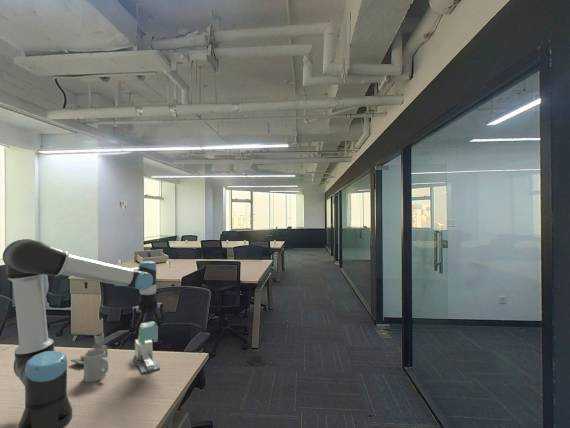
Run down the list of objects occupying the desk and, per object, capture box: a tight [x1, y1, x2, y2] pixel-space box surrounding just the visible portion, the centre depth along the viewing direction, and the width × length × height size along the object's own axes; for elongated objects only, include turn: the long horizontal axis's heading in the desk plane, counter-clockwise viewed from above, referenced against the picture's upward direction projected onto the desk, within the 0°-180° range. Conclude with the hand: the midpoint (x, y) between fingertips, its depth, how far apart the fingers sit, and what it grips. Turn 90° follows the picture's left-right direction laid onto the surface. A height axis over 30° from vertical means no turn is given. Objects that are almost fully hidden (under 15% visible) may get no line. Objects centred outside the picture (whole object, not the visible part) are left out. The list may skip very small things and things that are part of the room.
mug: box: [83, 349, 109, 383], centre depth 140 cm, size 12×8×11 cm
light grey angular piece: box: [133, 338, 161, 375], centre depth 155 cm, size 22×8×9 cm, turn 34°
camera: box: [70, 332, 108, 366], centre depth 157 cm, size 9×12×15 cm
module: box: [139, 320, 158, 345], centre depth 151 cm, size 8×7×8 cm
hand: (148, 340), depth 152 cm, fingers closed on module, 7 cm apart
